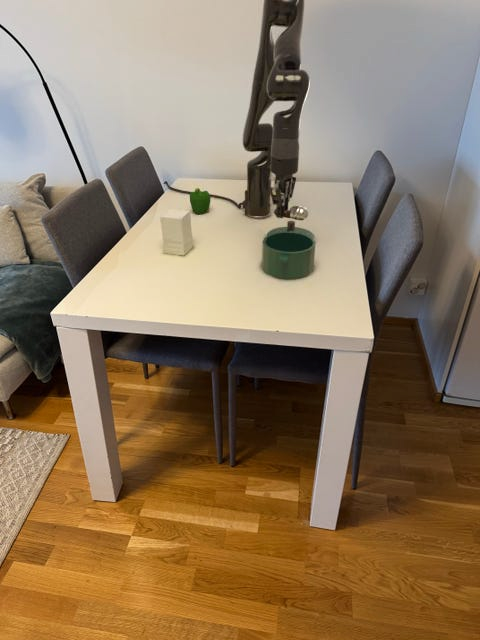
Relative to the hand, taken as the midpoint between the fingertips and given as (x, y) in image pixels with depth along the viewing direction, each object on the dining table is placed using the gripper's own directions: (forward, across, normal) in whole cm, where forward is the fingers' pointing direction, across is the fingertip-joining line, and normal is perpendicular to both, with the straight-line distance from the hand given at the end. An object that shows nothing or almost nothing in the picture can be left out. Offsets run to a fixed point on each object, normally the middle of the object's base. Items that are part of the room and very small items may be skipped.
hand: (281, 215), depth 130 cm
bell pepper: (+16, -29, -47) cm, 58 cm away
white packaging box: (+16, +5, -34) cm, 38 cm away
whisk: (0, 0, +3) cm, 3 cm away
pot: (+16, 0, +3) cm, 16 cm away
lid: (+15, -21, -5) cm, 27 cm away
